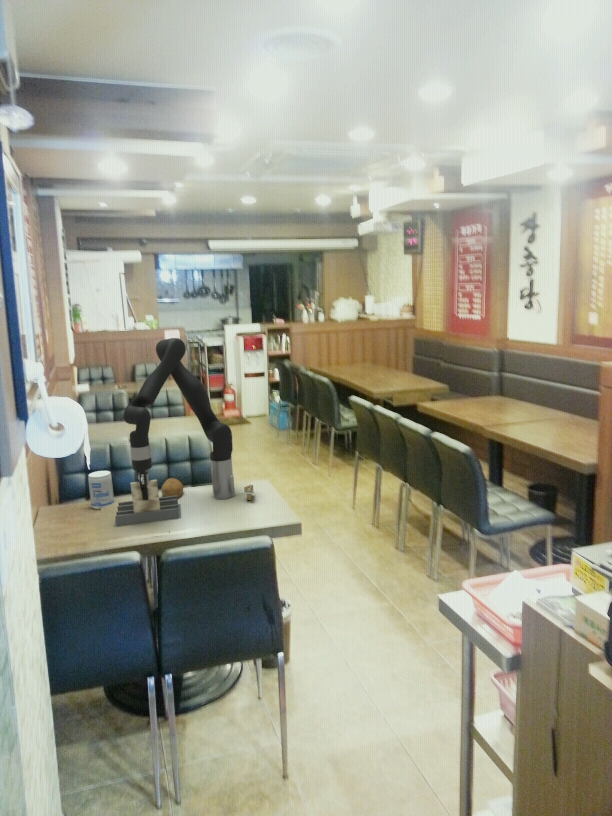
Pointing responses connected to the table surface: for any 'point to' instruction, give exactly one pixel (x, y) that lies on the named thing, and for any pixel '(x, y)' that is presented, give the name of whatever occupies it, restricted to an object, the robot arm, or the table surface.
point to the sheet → (153, 497)
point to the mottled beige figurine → (248, 491)
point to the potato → (172, 488)
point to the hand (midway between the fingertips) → (145, 498)
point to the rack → (166, 512)
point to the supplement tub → (100, 489)
